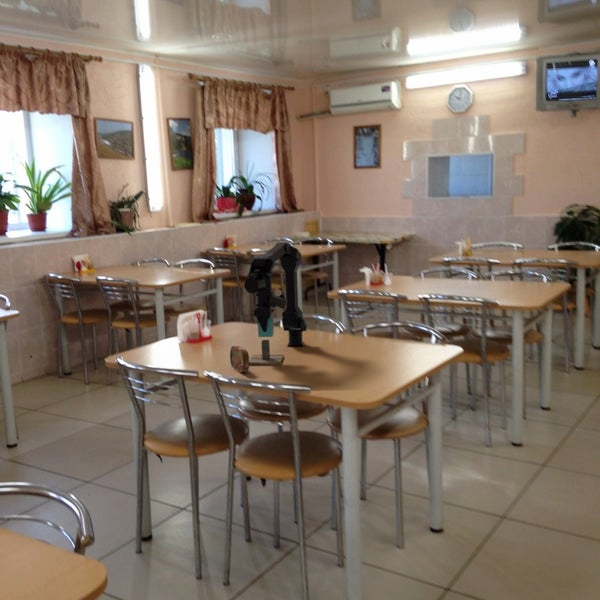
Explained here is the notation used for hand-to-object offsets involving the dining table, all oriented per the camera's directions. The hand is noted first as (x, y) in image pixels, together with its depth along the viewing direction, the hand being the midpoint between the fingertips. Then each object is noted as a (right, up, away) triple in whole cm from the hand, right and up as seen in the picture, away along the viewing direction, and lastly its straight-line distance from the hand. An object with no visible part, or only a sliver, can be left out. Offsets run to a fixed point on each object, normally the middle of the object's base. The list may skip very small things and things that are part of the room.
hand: (265, 330), depth 264 cm
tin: (-9, -14, -9) cm, 19 cm away
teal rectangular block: (0, -2, 0) cm, 2 cm away
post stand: (0, -12, +2) cm, 12 cm away
